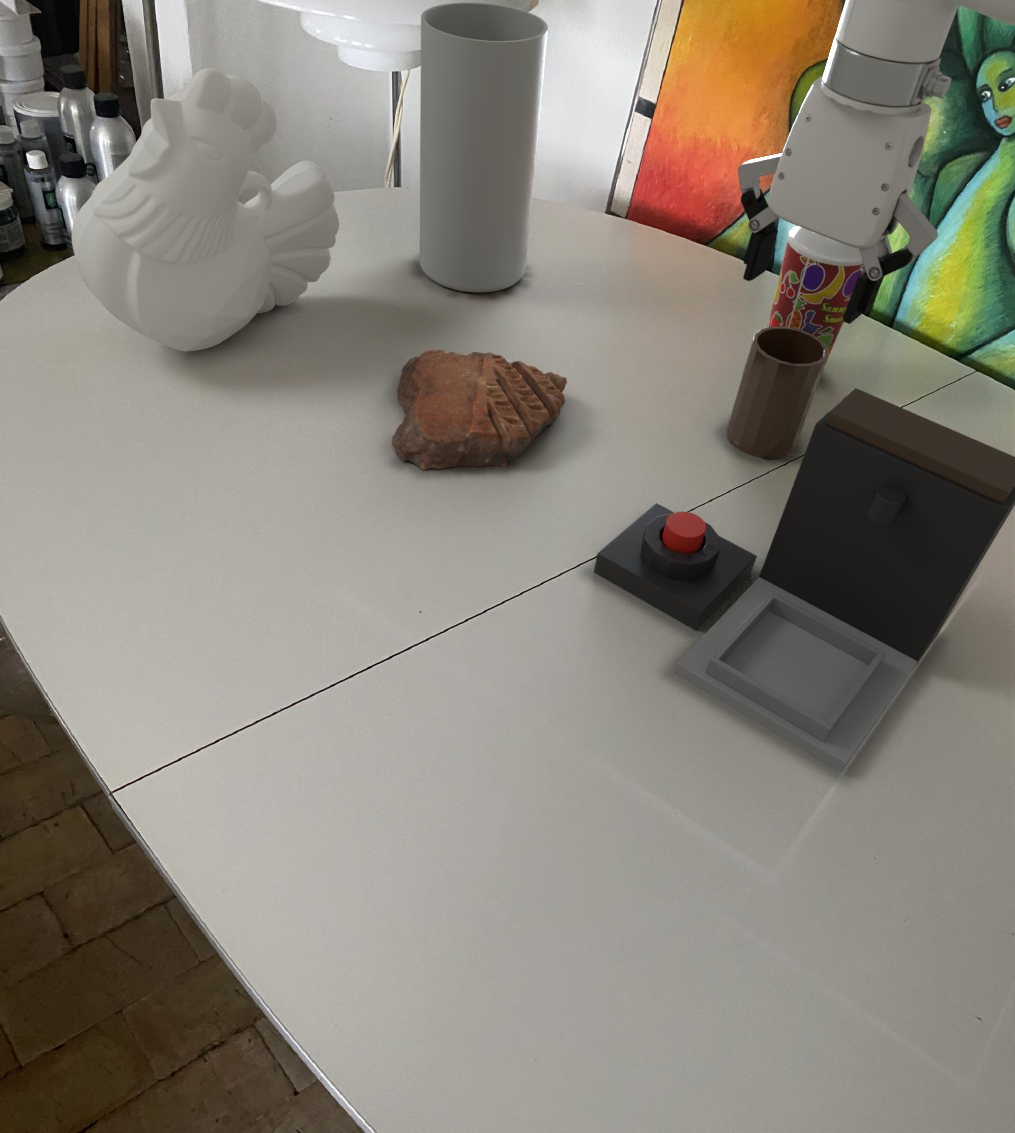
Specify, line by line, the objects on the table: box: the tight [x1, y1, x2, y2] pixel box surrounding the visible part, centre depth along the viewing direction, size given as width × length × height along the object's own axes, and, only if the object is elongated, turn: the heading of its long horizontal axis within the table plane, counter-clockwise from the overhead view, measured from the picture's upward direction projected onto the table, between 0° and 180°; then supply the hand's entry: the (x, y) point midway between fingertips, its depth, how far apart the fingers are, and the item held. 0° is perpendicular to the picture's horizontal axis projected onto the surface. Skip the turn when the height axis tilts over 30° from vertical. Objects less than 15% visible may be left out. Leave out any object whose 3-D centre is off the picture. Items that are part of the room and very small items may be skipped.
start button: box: [662, 511, 706, 554], centre depth 76 cm, size 3×3×2 cm
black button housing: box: [593, 502, 758, 632], centre depth 78 cm, size 10×9×4 cm
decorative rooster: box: [71, 67, 340, 352], centre depth 92 cm, size 25×16×25 cm
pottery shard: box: [391, 349, 568, 471], centre depth 91 cm, size 16×16×4 cm
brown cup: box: [725, 326, 829, 460], centre depth 90 cm, size 7×7×10 cm
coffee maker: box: [674, 387, 1015, 773], centre depth 68 cm, size 14×18×17 cm
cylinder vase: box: [419, 2, 549, 294], centre depth 103 cm, size 12×12×25 cm
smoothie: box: [766, 225, 866, 360], centre depth 96 cm, size 8×8×20 cm
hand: (802, 296), depth 83 cm, fingers open, 9 cm apart
